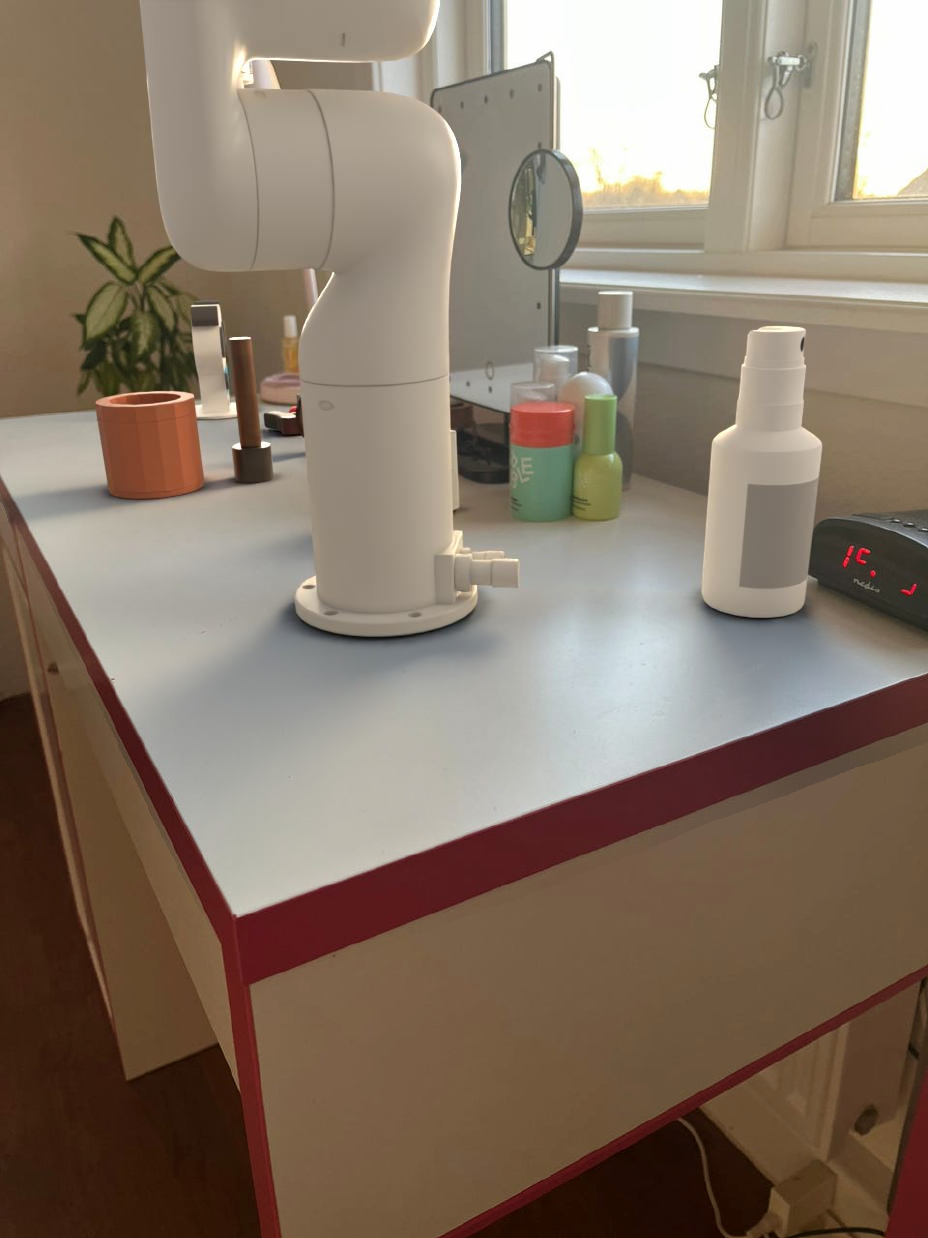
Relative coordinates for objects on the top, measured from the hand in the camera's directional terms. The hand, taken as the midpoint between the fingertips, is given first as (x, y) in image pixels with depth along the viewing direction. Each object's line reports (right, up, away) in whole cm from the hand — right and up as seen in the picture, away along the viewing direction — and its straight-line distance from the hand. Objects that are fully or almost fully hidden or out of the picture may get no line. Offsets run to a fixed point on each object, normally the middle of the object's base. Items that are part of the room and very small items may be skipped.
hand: (230, 263), depth 97 cm
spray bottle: (+43, -34, -29) cm, 61 cm away
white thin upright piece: (+18, -25, -5) cm, 31 cm away
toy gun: (+3, -10, +34) cm, 35 cm away
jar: (-9, -21, +5) cm, 23 cm away
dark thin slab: (+9, -16, +18) cm, 26 cm away
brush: (+1, -20, +8) cm, 21 cm away
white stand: (-13, -5, +46) cm, 48 cm away
